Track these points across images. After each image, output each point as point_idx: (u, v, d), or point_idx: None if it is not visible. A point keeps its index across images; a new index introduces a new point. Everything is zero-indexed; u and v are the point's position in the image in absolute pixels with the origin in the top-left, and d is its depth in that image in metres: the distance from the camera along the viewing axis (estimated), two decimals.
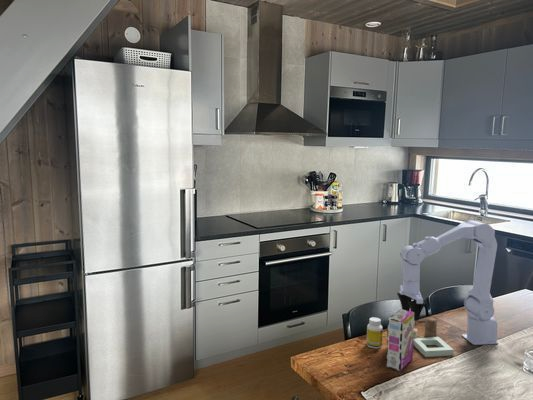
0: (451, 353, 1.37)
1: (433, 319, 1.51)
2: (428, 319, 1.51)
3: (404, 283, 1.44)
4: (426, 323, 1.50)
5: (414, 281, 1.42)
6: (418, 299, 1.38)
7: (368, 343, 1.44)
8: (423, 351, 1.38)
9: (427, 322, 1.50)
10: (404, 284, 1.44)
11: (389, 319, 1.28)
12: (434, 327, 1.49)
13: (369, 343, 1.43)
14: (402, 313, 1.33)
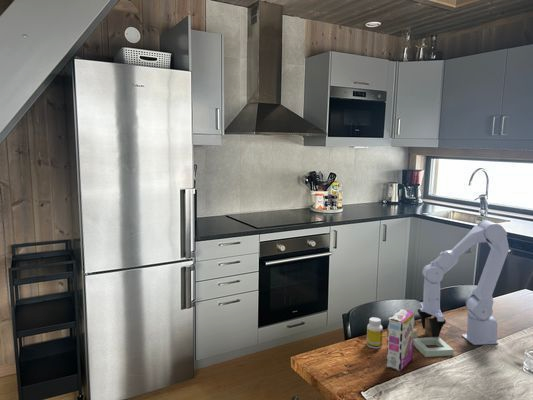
0: (451, 353, 1.37)
1: None
2: (428, 319, 1.51)
3: (425, 301, 1.49)
4: (426, 323, 1.50)
5: (435, 299, 1.47)
6: (439, 317, 1.43)
7: (368, 343, 1.44)
8: (423, 351, 1.38)
9: (427, 322, 1.50)
10: (425, 302, 1.49)
11: (389, 319, 1.28)
12: None
13: (369, 343, 1.43)
14: (402, 313, 1.33)
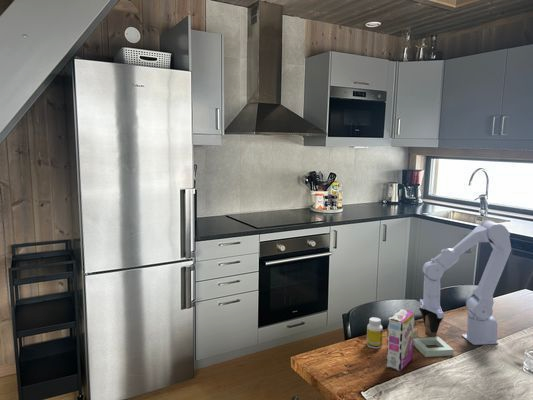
0: (451, 353, 1.37)
1: None
2: None
3: (425, 298, 1.49)
4: (426, 320, 1.50)
5: (435, 296, 1.47)
6: (439, 314, 1.43)
7: (368, 343, 1.44)
8: (423, 351, 1.38)
9: (427, 319, 1.50)
10: (425, 299, 1.49)
11: (389, 319, 1.28)
12: None
13: (369, 343, 1.43)
14: (402, 313, 1.33)
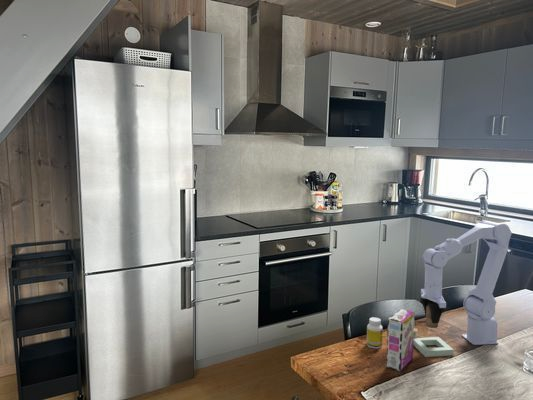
0: (451, 353, 1.37)
1: None
2: None
3: (426, 287, 1.41)
4: (427, 310, 1.43)
5: (437, 285, 1.39)
6: (441, 303, 1.35)
7: (368, 343, 1.44)
8: (423, 351, 1.38)
9: (428, 309, 1.42)
10: (426, 288, 1.42)
11: (389, 319, 1.28)
12: None
13: (369, 343, 1.43)
14: (402, 313, 1.33)
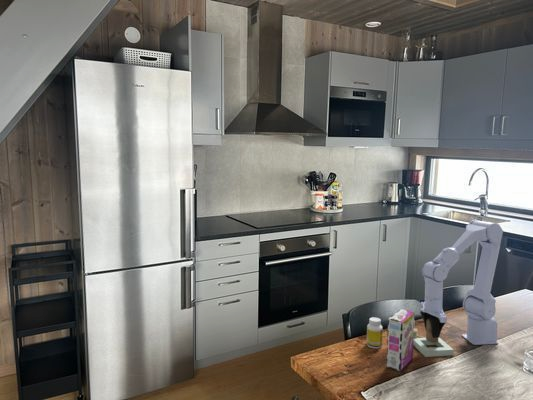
0: (451, 353, 1.37)
1: None
2: None
3: (426, 300, 1.39)
4: (427, 324, 1.41)
5: (437, 299, 1.37)
6: (442, 318, 1.33)
7: (368, 343, 1.44)
8: (423, 351, 1.38)
9: (429, 323, 1.40)
10: (426, 301, 1.39)
11: (389, 319, 1.28)
12: None
13: (369, 343, 1.43)
14: (402, 313, 1.33)
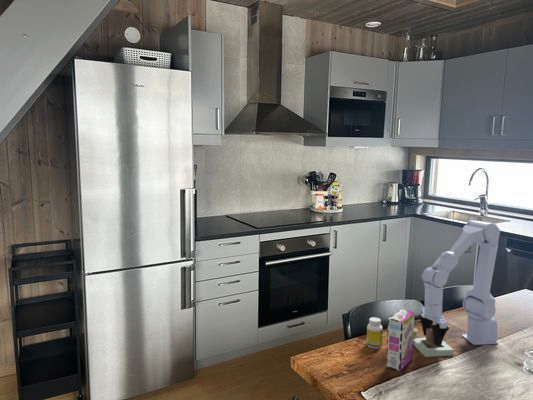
0: (451, 353, 1.37)
1: None
2: (429, 330, 1.41)
3: (426, 306, 1.40)
4: (427, 334, 1.41)
5: (437, 304, 1.38)
6: (442, 324, 1.34)
7: (368, 343, 1.44)
8: (423, 351, 1.38)
9: (428, 333, 1.40)
10: (426, 307, 1.40)
11: (389, 319, 1.28)
12: None
13: (369, 343, 1.43)
14: (402, 313, 1.33)
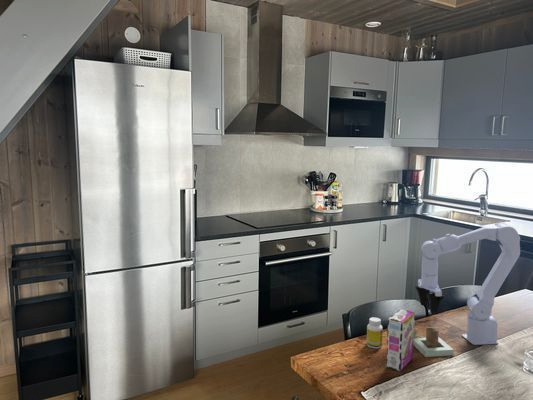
0: (451, 353, 1.37)
1: (435, 330, 1.41)
2: (429, 330, 1.41)
3: (423, 277, 1.50)
4: (427, 334, 1.41)
5: (433, 275, 1.48)
6: (437, 292, 1.44)
7: (368, 343, 1.44)
8: (423, 351, 1.38)
9: (428, 333, 1.40)
10: (423, 278, 1.50)
11: (389, 319, 1.28)
12: (436, 338, 1.40)
13: (369, 343, 1.43)
14: (402, 313, 1.33)
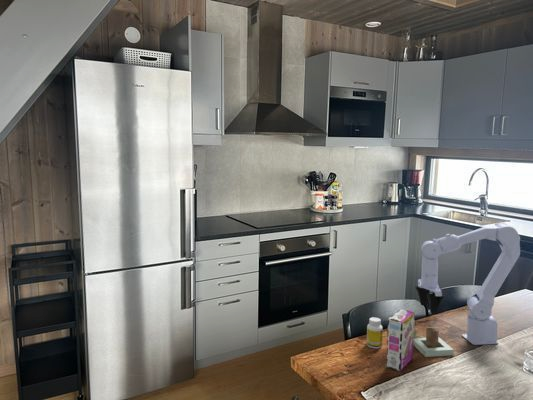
0: (451, 353, 1.37)
1: (435, 330, 1.41)
2: (429, 330, 1.41)
3: (423, 277, 1.50)
4: (427, 334, 1.41)
5: (433, 275, 1.48)
6: (437, 292, 1.44)
7: (368, 343, 1.44)
8: (423, 351, 1.38)
9: (428, 333, 1.40)
10: (423, 278, 1.50)
11: (389, 319, 1.28)
12: (436, 338, 1.40)
13: (369, 343, 1.43)
14: (402, 313, 1.33)
